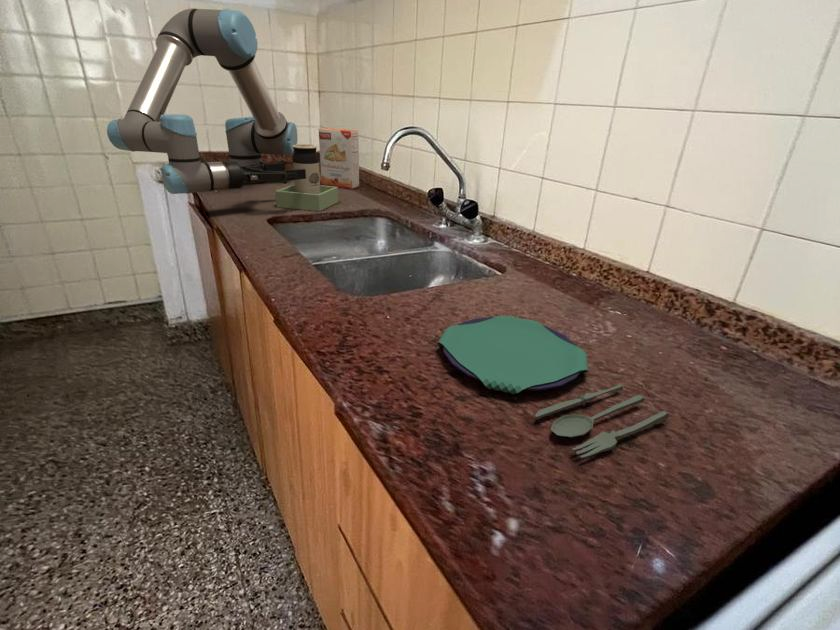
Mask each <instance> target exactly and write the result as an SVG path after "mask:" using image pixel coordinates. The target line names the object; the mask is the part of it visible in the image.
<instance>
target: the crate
mask: <svg viewBox="0 0 840 630" xmlns="http://www.w3.org/2000/svg"><path fill="white" fill-rule="evenodd" d="M274 191H275V201H276V208H283V209H291V210H292V209H293V210H301V211H302V210H303V211H311V212H321V211H323V210H325V209H327V208H329V207H331V206H333V205H335V204H337V203H339V202H340V201H339V187H333V186H326V185H322V184H320V191H321V193H320V194H308V193H297V192H295V184H294V183H293V184H292V185H288V186H285V187H283V188H280V189H277V190H274Z"/></svg>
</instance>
